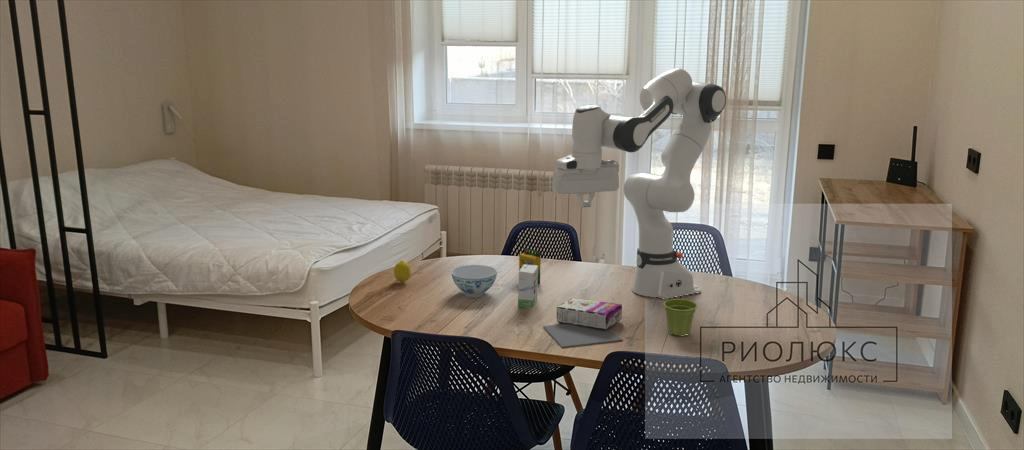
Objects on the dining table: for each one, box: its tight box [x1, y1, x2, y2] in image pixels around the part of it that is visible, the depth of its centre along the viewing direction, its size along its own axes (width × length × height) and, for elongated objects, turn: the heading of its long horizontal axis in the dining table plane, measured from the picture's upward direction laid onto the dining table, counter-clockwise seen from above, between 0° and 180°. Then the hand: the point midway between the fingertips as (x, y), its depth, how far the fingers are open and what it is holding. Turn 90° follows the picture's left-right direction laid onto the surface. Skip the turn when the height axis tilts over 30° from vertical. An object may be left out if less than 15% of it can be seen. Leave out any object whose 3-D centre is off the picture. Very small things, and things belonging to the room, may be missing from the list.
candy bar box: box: [556, 297, 623, 329], centre depth 230 cm, size 11×5×16 cm
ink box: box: [517, 264, 539, 309], centre depth 245 cm, size 9×5×12 cm, turn 168°
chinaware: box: [450, 264, 498, 298], centre depth 255 cm, size 15×15×8 cm
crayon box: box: [518, 247, 542, 285], centre depth 266 cm, size 7×3×12 cm, turn 49°
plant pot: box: [663, 298, 698, 336], centre depth 222 cm, size 9×9×9 cm
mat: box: [542, 323, 624, 349], centre depth 222 cm, size 18×16×1 cm
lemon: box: [393, 260, 411, 284], centre depth 266 cm, size 6×6×8 cm
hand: (585, 206), depth 231 cm, fingers closed
